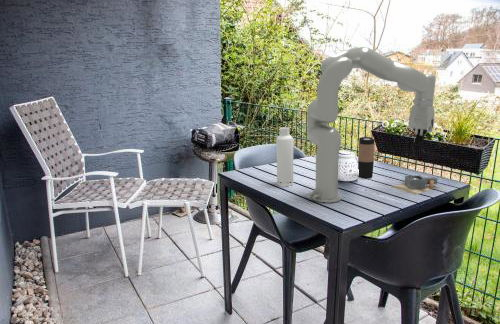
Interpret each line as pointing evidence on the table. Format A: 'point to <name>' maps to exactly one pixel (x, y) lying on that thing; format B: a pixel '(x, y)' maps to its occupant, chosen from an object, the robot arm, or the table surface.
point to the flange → (418, 182)
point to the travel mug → (366, 157)
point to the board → (413, 191)
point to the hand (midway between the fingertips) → (419, 143)
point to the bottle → (284, 157)
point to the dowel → (431, 184)
